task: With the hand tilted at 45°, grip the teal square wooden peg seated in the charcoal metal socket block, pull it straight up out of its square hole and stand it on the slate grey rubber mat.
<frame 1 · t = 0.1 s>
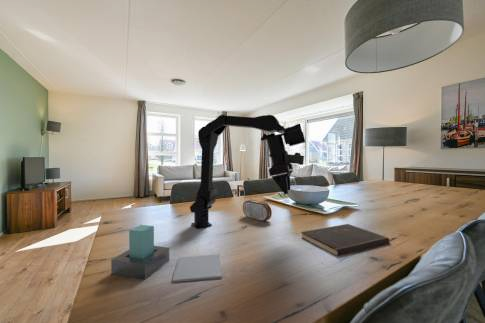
hand: (287, 192, 76), 15 cm above the table, tool pointing down, fingers open, 9 cm apart
portable speaker: (256, 219, 95), on the table
socket block: (142, 266, 54), on the table
mat: (198, 267, 54), on the table
hardcover book: (343, 242, 72), on the table
peg: (141, 247, 54), in the socket block
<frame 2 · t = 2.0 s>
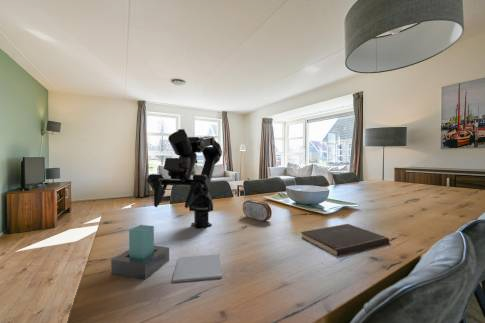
hand: (170, 207, 61), 14 cm above the table, tool tilted 40°, fingers open, 9 cm apart
nothing on the table moved.
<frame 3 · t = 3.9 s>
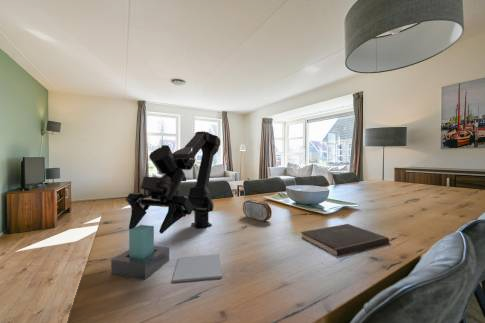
hand: (145, 231, 55), 9 cm above the table, tool tilted 45°, fingers open, 9 cm apart
nothing on the table moved.
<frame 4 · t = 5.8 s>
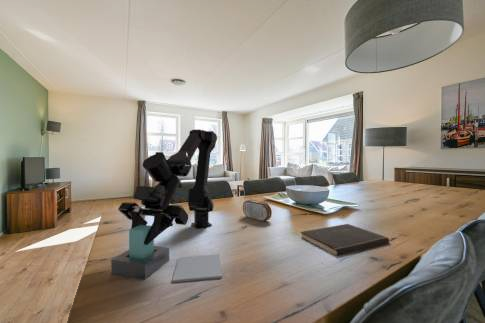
hand: (137, 243, 52), 7 cm above the table, tool tilted 45°, fingers closed on peg, 4 cm apart
peg: (141, 247, 54), in the socket block, touching gripper
everything else where it was.
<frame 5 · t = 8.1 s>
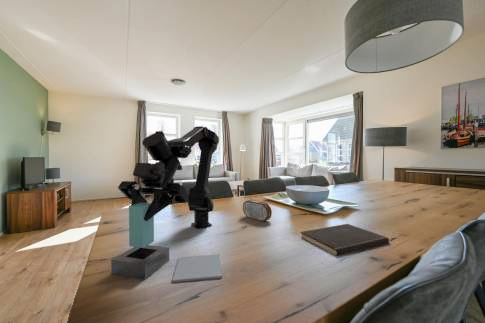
hand: (137, 219, 52), 12 cm above the table, tool tilted 45°, fingers closed on peg, 4 cm apart
peg: (141, 224, 54), point 11 cm above the table, touching gripper
everything else where it was.
when the fingers open (9 cm above the table, at t = 10.7 s): peg drops 1 cm, resting on mat.
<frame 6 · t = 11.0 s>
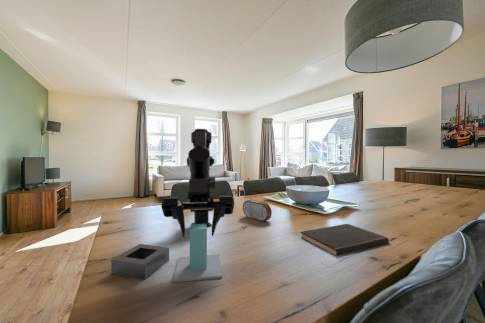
hand: (198, 236, 52), 9 cm above the table, tool tilted 45°, fingers open, 7 cm apart
peg: (198, 246, 54), on the mat
everything else where it was.
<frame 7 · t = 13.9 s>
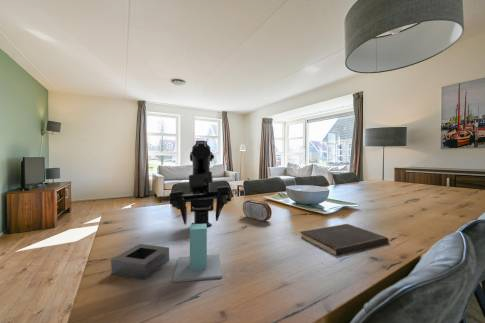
hand: (200, 222, 62), 9 cm above the table, tool tilted 40°, fingers open, 9 cm apart
nothing on the table moved.
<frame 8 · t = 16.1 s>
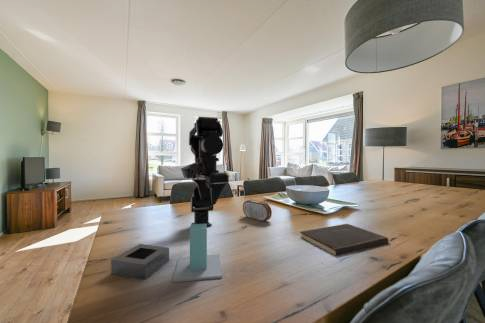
hand: (207, 201, 71), 13 cm above the table, tool pointing down, fingers open, 9 cm apart
nothing on the table moved.
at the end: peg inside the target area on the mat (0.1 cm from its centre), point 5.5 cm above the mat's base; peg tilted 0°; the gripper is holding nothing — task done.
